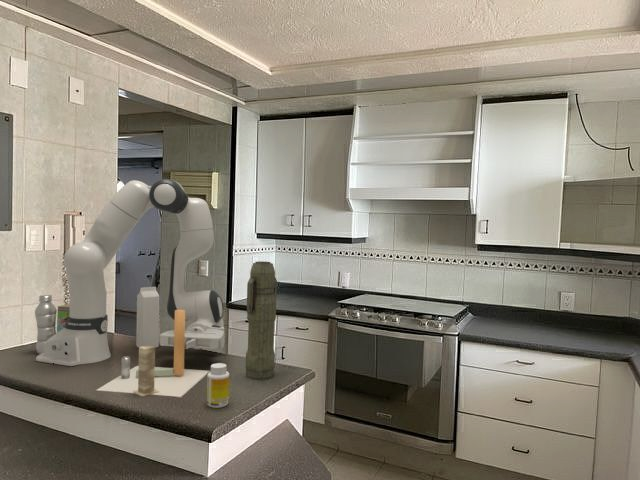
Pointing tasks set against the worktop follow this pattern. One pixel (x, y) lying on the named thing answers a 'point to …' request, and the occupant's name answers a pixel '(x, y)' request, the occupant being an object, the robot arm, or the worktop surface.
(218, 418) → the worktop surface
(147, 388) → the post
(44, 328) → the plastic bottle
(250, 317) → the thermos
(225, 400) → the supplement bottle
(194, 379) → the base board
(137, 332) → the milk
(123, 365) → the post
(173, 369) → the orange upright dowel
